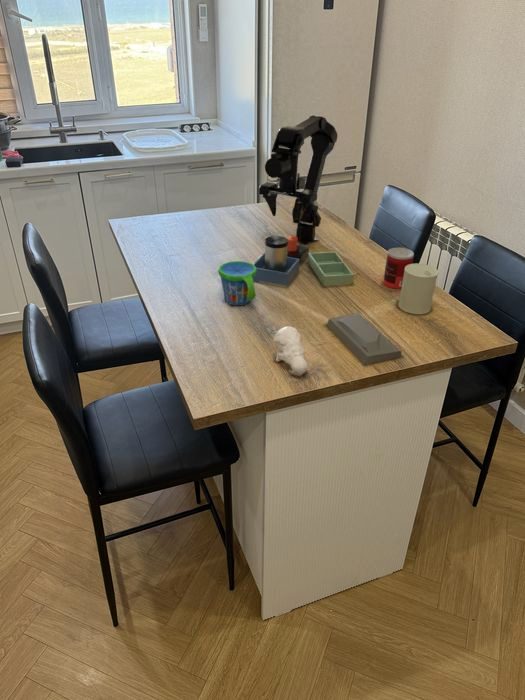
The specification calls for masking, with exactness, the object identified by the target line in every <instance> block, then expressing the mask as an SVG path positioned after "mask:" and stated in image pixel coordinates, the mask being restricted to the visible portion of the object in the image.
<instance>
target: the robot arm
mask: <svg viewBox="0 0 525 700" xmlns="http://www.w3.org/2000/svg"><path fill="white" fill-rule="evenodd" d="M309 137H310V146H311V149H312V155H311V159H310V163H309V166H308V170H307V175H306V178H304V177H301V176H300V174H301V173H300V172H298V171H299V155H301V154H302V150H301V148H302V146H303V145H304V144H305V140H306V139H308V138H309ZM337 141H338V132H337V130H336V128H335V126H333V125H332V123H330V122H329V121H328V120H327V118H326V117H324V116H322V115H315V114H313V115H310V116H309V117H308V118H307V119H305V120H303V121H302V122H300V123H298V124H297V125H294V126H292V125H291V126H290V125H289V126H288V125H287V126H282V127H281V128H280V129H279V130H278V131H277V134H276V137H275V140H274V141H273V142H274V143H273V145H272V149H271V154H270V158H269V159H268V158H267V160H266V162H265V164H264V170H265V173H266V175H267V176H268V177H270V178H272V179H276V178H277V179H278V184H277V183H275V182H270V181H267V182H264V183H263V184H260V185H259V187H258V195H260V196H261V197H262V198H263V199H264V201H265V202H266V204H267V206H268V208H269V210H270V213H271V215H272V216H273V217H275V216H276V214H277V198H278V195H282V196H286V197H287V196H288V197H293V198H295V199H294V205H293V207H292V211H291V216H292V222H293V224H297V225H296V231H295V237H297V238H298V242H299V243H302V244H303V245H307V244H308V245H309V244H312V243H314V242H317V241H319V240H318V238H317V237H316V227H317V228H318V227H320V224H321V221H322V217H321V215H320V213H319V212H318V211H319V204H318V202H317V200H318V191H319V188H320V187H319V186H320V183H321V179H322V176H323V171H324V167H325V163H326V159H327V157H328V155H329V154H331V152H332V151H333V150H334V149H335V145H336V143H337ZM299 190H302V191H299Z"/></svg>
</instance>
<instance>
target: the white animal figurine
mask: <svg viewBox="0 0 525 700" xmlns="http://www.w3.org/2000/svg"><path fill="white" fill-rule="evenodd" d="M273 345H274V347H275V348H276V357H275V361H276V362H278V363H279V362H281V361H284V362H285V363H286V364H288V365H289V366H290V368H291V370H288V372H290V373H291V374H293V375H296V376H298V377H302V375H304V374H305V373H306V372H307V371H308V368H309V366H308V362H307V360H306V359H305V356H306V350H305V348H304V347H303V344H302V336H301V334H300V333H299V332H298V330H297V329H296V328H295V327H293V326H287V325H286V326H285V327H282V328H280V329H278V330H277V331H276V333H275V335H274V336H273Z"/></svg>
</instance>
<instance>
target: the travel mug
mask: <svg viewBox="0 0 525 700" xmlns="http://www.w3.org/2000/svg"><path fill="white" fill-rule="evenodd" d="M287 245H288V239H287V238H286V236H281V235H269V236H267V237H265V239H264V253H265V269H267V270H273V271H279V272H284V273H286V264H287Z"/></svg>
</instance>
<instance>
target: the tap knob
mask: <svg viewBox="0 0 525 700" xmlns="http://www.w3.org/2000/svg"><path fill="white" fill-rule="evenodd" d="M285 238H287V239H288V245H287V251H291V252H292V251H296V250H297V245H298V242H299V241H298V238H297V237H296V235H287V236H285Z"/></svg>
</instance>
